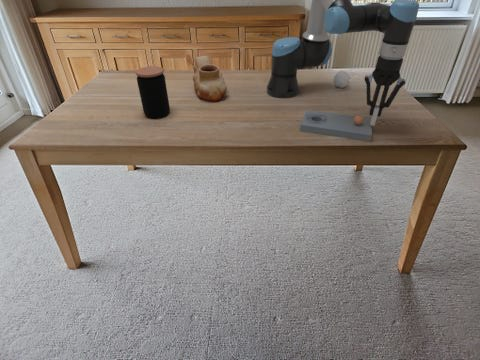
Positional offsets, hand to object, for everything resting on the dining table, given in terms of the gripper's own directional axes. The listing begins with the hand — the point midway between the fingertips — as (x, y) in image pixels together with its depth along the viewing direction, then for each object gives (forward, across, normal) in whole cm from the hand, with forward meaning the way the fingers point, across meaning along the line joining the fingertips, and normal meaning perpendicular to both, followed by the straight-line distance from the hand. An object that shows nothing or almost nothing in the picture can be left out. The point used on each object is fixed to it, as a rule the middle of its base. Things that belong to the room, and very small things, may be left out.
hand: (372, 123), depth 112 cm
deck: (+4, -12, 0) cm, 13 cm away
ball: (-1, -5, 0) cm, 5 cm away
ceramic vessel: (+4, -73, +18) cm, 75 cm away
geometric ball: (+4, -14, +44) cm, 47 cm away
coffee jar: (+4, -84, -10) cm, 85 cm away
